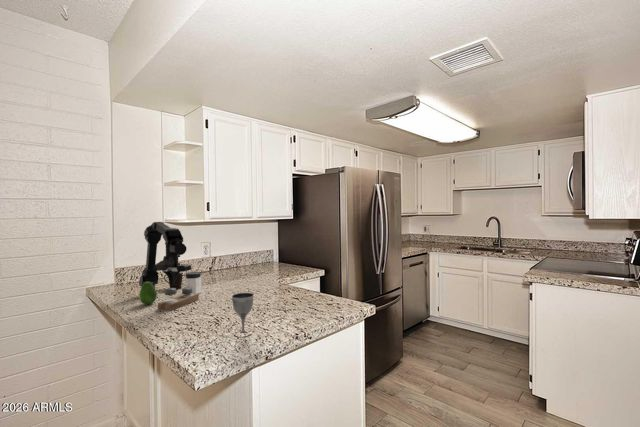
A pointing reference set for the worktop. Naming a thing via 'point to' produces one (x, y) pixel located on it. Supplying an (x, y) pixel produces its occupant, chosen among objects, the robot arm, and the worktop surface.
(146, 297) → the avocado
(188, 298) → the knob panel
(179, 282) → the coffee mug
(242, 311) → the wine glass
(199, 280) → the jar
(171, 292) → the knob
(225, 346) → the worktop surface
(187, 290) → the knob
